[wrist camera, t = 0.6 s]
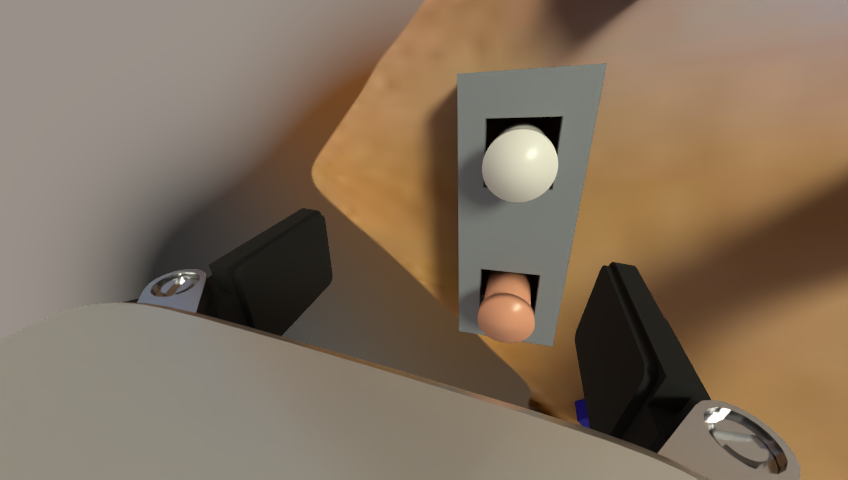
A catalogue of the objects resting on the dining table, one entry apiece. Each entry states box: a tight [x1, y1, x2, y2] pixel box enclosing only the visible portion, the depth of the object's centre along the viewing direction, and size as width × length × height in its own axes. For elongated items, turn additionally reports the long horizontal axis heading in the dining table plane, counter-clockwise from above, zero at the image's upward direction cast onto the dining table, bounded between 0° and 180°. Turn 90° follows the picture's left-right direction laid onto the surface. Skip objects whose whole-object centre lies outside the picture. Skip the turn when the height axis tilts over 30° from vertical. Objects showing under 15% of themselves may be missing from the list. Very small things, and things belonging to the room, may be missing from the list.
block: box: [457, 63, 607, 346], centre depth 30 cm, size 10×26×6 cm, turn 3°
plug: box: [482, 122, 558, 202], centre depth 23 cm, size 5×5×6 cm
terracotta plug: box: [477, 270, 535, 343], centre depth 30 cm, size 5×5×6 cm
